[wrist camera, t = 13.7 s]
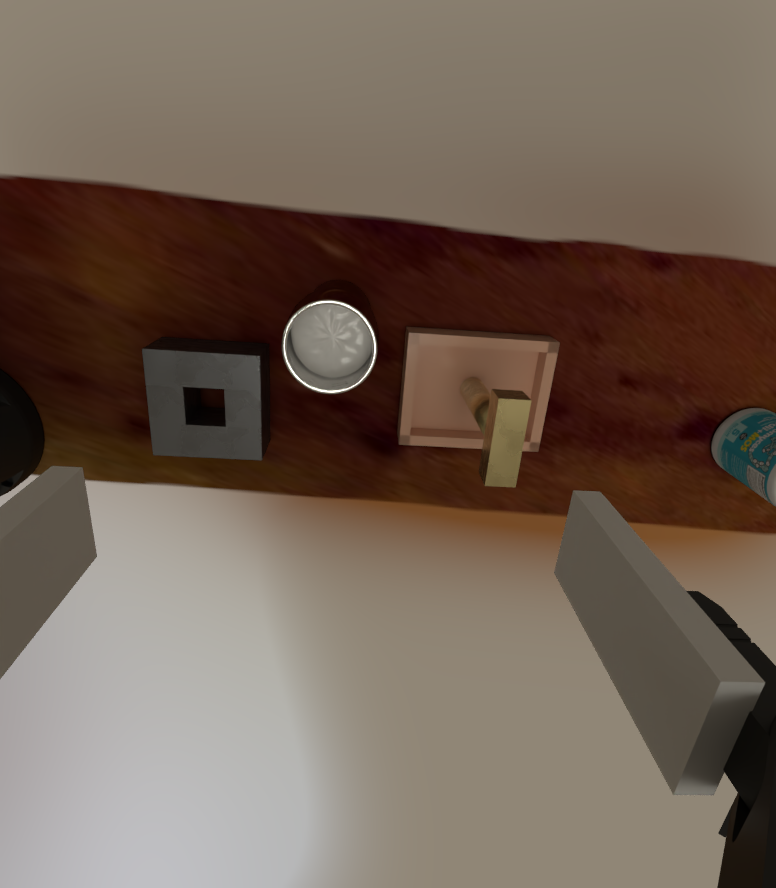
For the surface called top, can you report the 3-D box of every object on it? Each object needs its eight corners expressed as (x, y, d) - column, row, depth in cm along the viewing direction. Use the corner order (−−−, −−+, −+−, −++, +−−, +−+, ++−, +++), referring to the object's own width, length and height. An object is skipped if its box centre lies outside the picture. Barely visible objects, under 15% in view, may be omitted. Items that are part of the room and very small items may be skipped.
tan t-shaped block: (464, 353, 52) (498, 398, 38) (489, 354, 52) (531, 400, 38) (455, 421, 54) (484, 485, 41) (478, 422, 54) (515, 487, 41)
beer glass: (378, 278, 49) (384, 301, 36) (372, 352, 52) (375, 400, 38) (302, 270, 49) (279, 291, 35) (300, 346, 52) (277, 393, 38)
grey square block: (170, 434, 54) (153, 454, 50) (162, 336, 51) (142, 348, 46) (270, 440, 55) (261, 460, 51) (269, 343, 51) (259, 356, 47)
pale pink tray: (397, 433, 55) (398, 444, 53) (406, 326, 51) (408, 332, 48) (529, 440, 56) (538, 451, 54) (549, 335, 52) (559, 342, 49)
